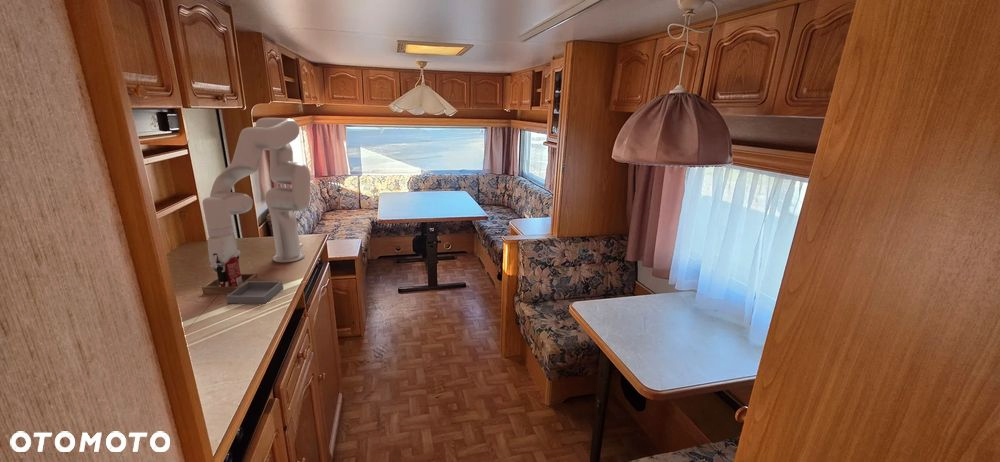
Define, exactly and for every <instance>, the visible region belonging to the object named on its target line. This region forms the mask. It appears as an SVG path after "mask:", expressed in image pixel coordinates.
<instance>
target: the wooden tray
mask: <svg viewBox="0 0 1000 462" xmlns="http://www.w3.org/2000/svg"><path fill="white" fill-rule="evenodd" d="M241 278H242V283H241V284H240V285H239V286H237V287H221V285H220V282H219V280H218V277H216V278H214V279H213V280H212V281H210V282H208V283H207V284H205V285H204V286H202V287H201V289H202V290H201V291H202V294H205V295H207V294H208V295H210V294H211V295H229V294H230V293H232V292H233V291H234V290H236V289H237V288H239V287H240V286H241V285H243V284H244V283H246V282H247V281H259V276H258V273H241Z"/></svg>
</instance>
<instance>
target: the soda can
mask: <svg viewBox="0 0 1000 462" xmlns="http://www.w3.org/2000/svg"><path fill="white" fill-rule="evenodd" d="M229 259H230V260H229V262H227V263H226V267H225V271H227V275H228V282H220V285H219V286H220V287H237V286H239V285H240V284H241V283H243V280H242V278H241V274H242V273H241V268H240V261H239V259H238V258H237V257H235V256H233V257H231V258H229ZM238 261H239V262H238ZM219 263H221V262H219ZM219 267H221V268H222V265H219Z"/></svg>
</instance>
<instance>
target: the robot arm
mask: <svg viewBox="0 0 1000 462" xmlns="http://www.w3.org/2000/svg"><path fill="white" fill-rule="evenodd" d="M299 135H300V125H299V124H298V122H297V121H296V120H295V119H292V118H288V117H287V118H285V117H262V118H259V119H257V120H256V122H255V126H250V127H249V126H248V127H245V128H243V129H242V130H241V131H240V133H239V136H238V140H237V143H236V146H235V150H234V154H233V157H232V160H231V163H229V165H228V166H227V167H226V168H224V169H223V170H222V172H221V173H220V174H219V175H218V176H217V177H216V178H215V179H214V182H213V184H212V187H211V190H210V194H209V196H208V197H206V198H203V200H202V208H203V214H204V218H205V222H206V229H207V234H208V239H207V249H208V257H209V258H208V259H209V263H210V268H211V269H213V270H214V271H215V272H216V274H217V278H218V280H219V282H228V275H227V271H225V267H226V263H227V262H229V260H230V259H229V258H231V257H233V256H235V257H237V258H238V262H239V263H240V261H239V259H240V254H241V250H240V249H239V246H238V240H237V238H236V235H235V231H234V225H233V222H232V220H233V219H232V215H241V214H245V213H247V212H249V211H251V209H252V208H253V206H254V200H253V198H252V197H251V196H250V195H249V194H246V193H243V192H233V191H232V190H233V187H234V185H235V184H236V183H237V182H239V181H240V180H242V179H244V178H247V177H248V176H251V175H252V174H254V173H256V172H258V169H259V166H260V162H261V159H262V155H263V151H269V178H270V180H271V181H272V182H273V183H275V184H279V185H285V186H286V185H289V186H291V187H282V186H281V187H272V188H269V189H268V190H267V192H266V193H265V196H264V200H265V204H266V207H267V209H268V212H269V215H270V220H271V225H272V226H271V227H272V232H273V240H274V248H275V252H276V254H275V255H274V256H272V259H273V261H274V262H276V263H286V264H287V263H292V262H296V261H297V262H298V261H300V260H302V259H304V257H306V253H305V252H304V251H301V248H302V247H303V246H304V244H303V243H302V242H300V237H299V229H298V224H297V223H298V222H297V217H296V214H295V213H294V212H303V211H306V210H307V209H308V207H309V205H310V199H311V172H310V169H309V168H308V166H307V165H306V164H304V163H301V162H296V161H295V162H294V152H293V148H292V146H291V144H290V143H291V142H293V141H295V140H296V139H297V138H298V136H299ZM219 262H221V263H219ZM219 265H222V268H221V267H219Z"/></svg>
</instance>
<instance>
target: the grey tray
mask: <svg viewBox="0 0 1000 462" xmlns="http://www.w3.org/2000/svg"><path fill="white" fill-rule="evenodd" d="M283 290H284V285H283V281H279V280H278V281H270V280H269V281H267V280H266V281H265V280H264V281H263V280H261V281H259V280H257V281H247V282H246V283H244V284H243V285H241V286H240V287H239V288H237V289H236V290H234V291H233V292H232V293H230V294H226V296H225V298H226V303H227V305H231V306H233V305H234V306H236V305H241V306H242V305H244V306H246V305H247V306H249V305H253V306H255V305H256V306H257V305H259V304H261V306H263V305H262V304H266V303H267V302H268V303H269V302H270V301H271V300H273V297H274V298H275V296H277V295H278V294H280V293H281V292H282V291H283ZM268 303H267V304H268ZM267 304H266V305H267Z"/></svg>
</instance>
